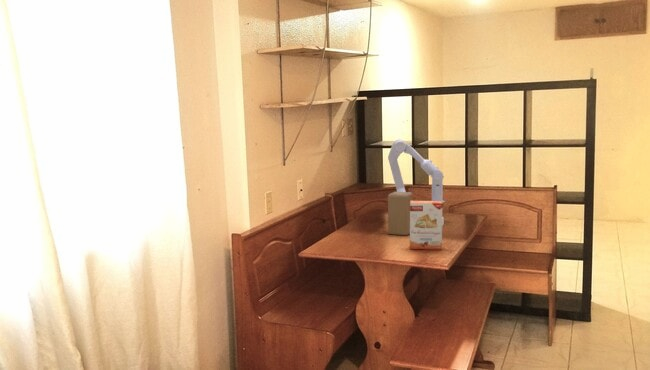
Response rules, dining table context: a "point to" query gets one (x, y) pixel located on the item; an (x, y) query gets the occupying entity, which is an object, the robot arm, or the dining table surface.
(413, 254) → the dining table surface
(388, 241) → the dining table surface
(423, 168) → the robot arm
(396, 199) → the wooden block
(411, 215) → the cracker box
